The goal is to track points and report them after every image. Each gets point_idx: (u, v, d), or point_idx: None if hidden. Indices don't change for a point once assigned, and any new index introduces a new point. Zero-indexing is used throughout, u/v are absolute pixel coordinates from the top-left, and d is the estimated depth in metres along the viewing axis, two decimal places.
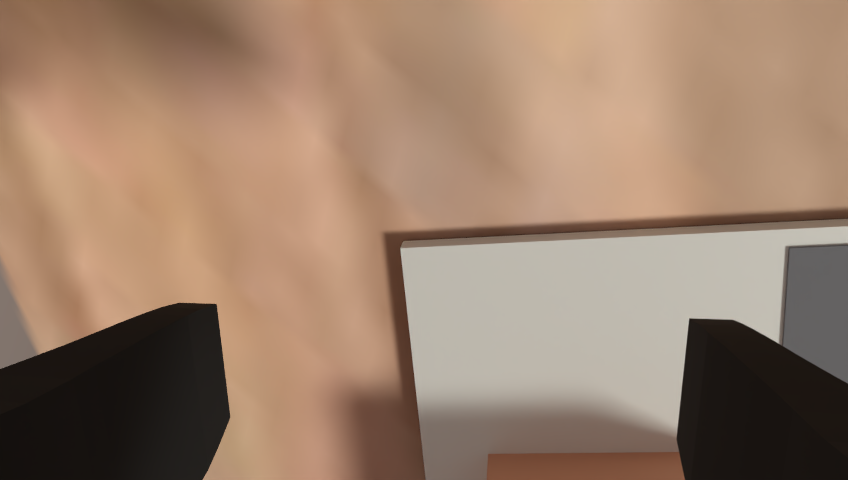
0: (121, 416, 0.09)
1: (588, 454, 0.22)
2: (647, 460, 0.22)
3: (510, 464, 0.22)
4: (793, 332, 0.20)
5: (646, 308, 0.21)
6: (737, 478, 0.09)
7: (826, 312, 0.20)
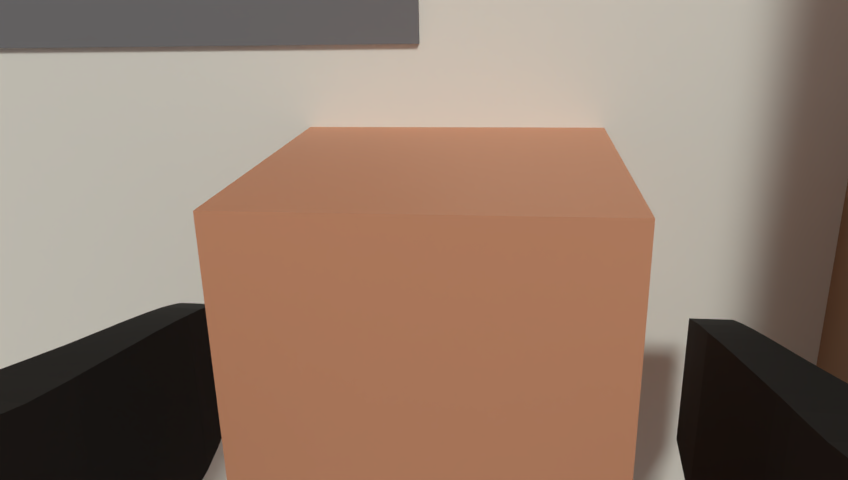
0: (121, 416, 0.09)
1: None
2: None
3: None
4: (67, 28, 0.12)
5: (59, 260, 0.13)
6: (737, 478, 0.09)
7: None
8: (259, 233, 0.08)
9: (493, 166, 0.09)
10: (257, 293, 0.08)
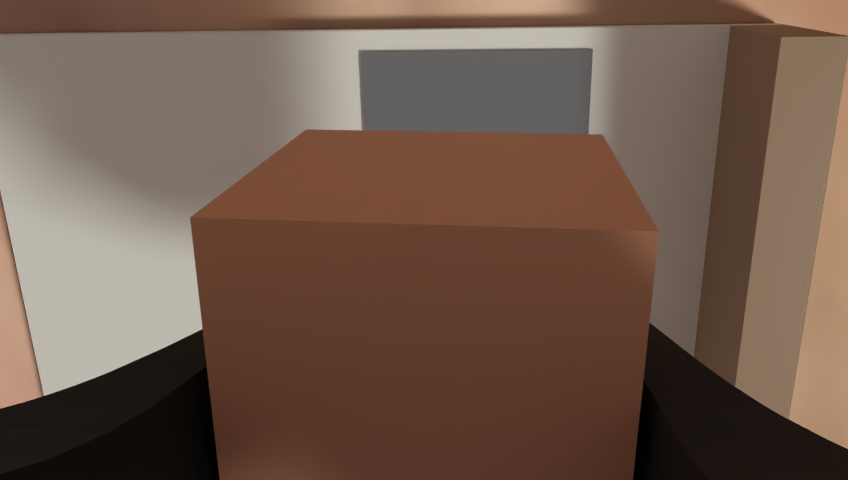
0: None
1: None
2: None
3: None
4: None
5: (226, 117, 0.19)
6: None
7: (407, 130, 0.19)
8: (257, 241, 0.07)
9: (493, 174, 0.09)
10: (254, 301, 0.08)
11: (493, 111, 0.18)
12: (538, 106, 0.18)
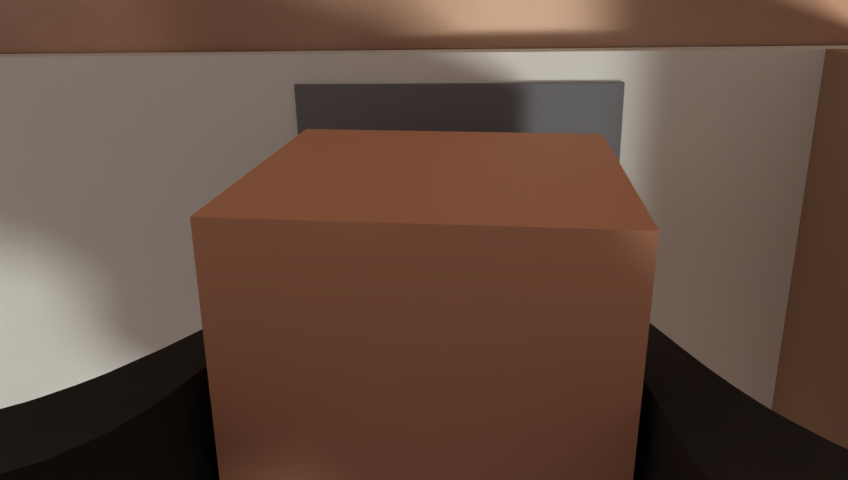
0: None
1: None
2: None
3: None
4: None
5: (112, 173, 0.14)
6: None
7: None
8: (257, 240, 0.07)
9: (493, 173, 0.09)
10: (254, 301, 0.08)
11: None
12: None
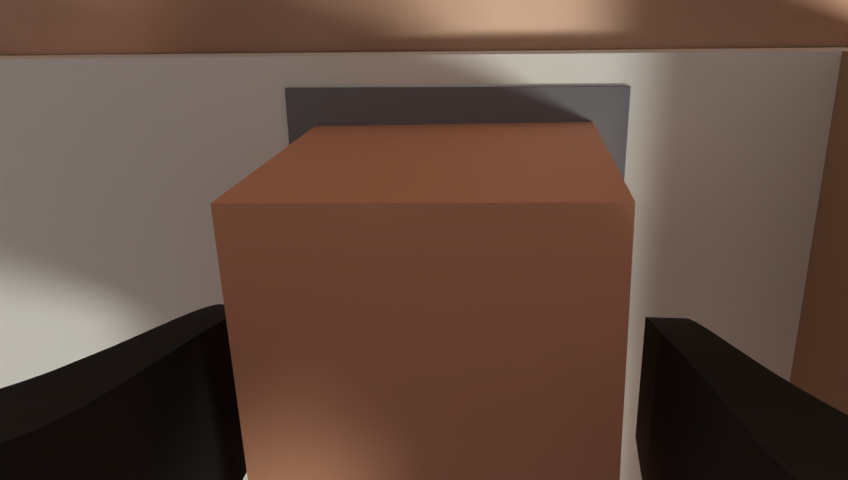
0: (169, 418, 0.09)
1: None
2: None
3: None
4: None
5: (95, 180, 0.13)
6: (683, 475, 0.09)
7: None
8: (272, 223, 0.08)
9: (487, 159, 0.10)
10: (270, 279, 0.08)
11: None
12: None
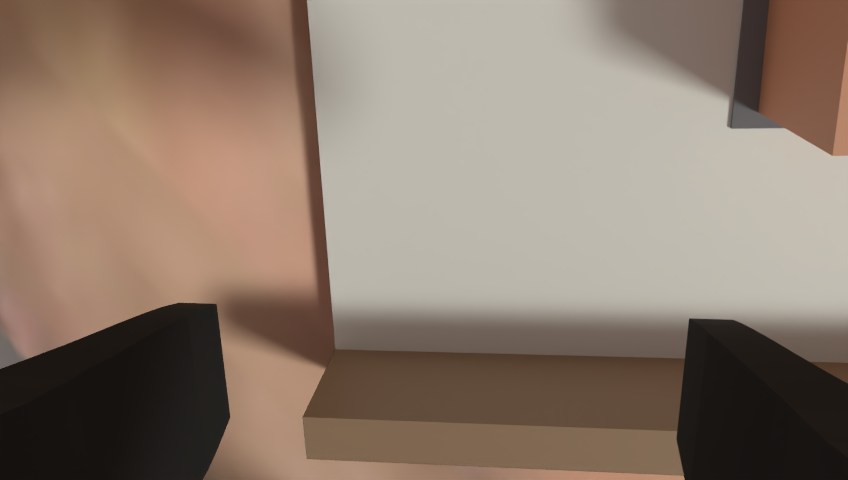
0: (121, 416, 0.09)
1: None
2: None
3: (768, 86, 0.17)
4: None
5: None
6: (737, 478, 0.09)
7: None
8: None
9: None
10: None
11: None
12: None
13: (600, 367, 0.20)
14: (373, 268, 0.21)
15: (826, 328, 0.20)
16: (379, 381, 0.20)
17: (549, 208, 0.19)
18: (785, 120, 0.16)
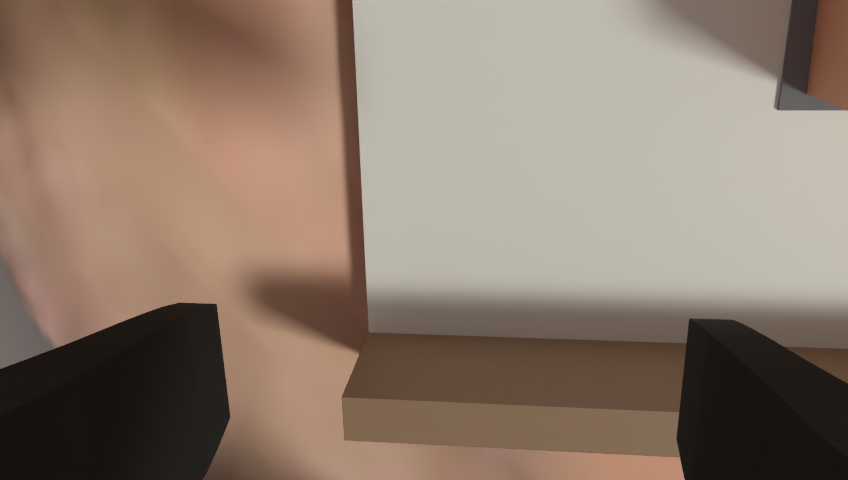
0: (121, 416, 0.09)
1: None
2: None
3: (818, 67, 0.17)
4: None
5: None
6: (737, 478, 0.09)
7: None
8: None
9: None
10: None
11: None
12: None
13: (639, 352, 0.20)
14: (410, 250, 0.20)
15: None
16: (416, 363, 0.19)
17: (591, 190, 0.19)
18: (839, 99, 0.16)
